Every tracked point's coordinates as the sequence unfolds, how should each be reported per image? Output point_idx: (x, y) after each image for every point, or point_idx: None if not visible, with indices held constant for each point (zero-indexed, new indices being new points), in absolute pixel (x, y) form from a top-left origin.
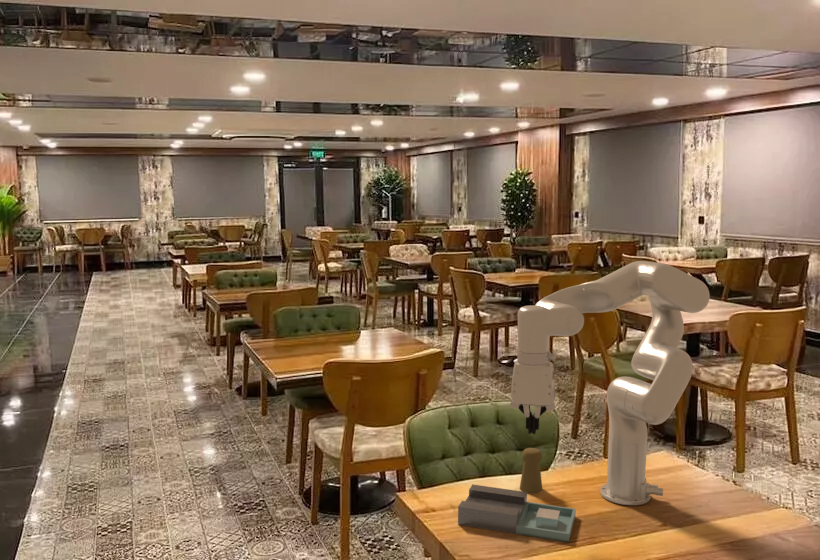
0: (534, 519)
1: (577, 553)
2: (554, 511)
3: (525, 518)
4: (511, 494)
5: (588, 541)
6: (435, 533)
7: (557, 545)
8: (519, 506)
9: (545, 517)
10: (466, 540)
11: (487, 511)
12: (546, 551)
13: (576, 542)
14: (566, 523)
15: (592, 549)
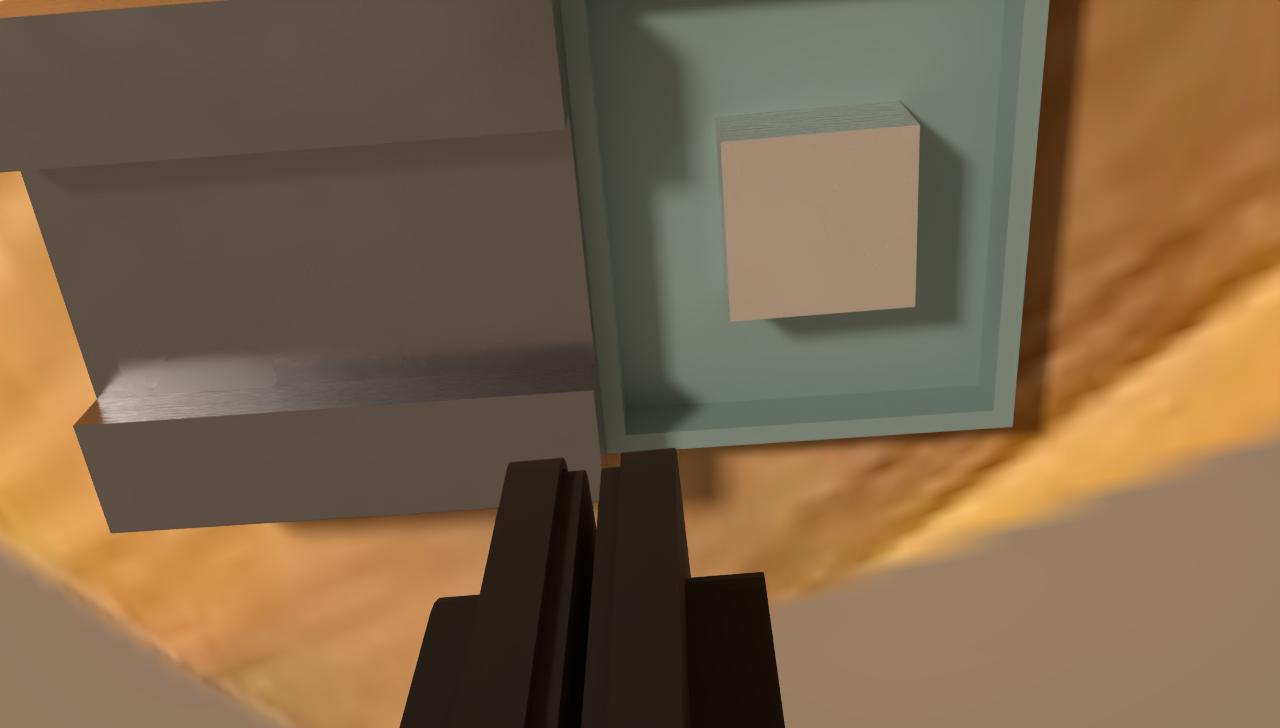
0: (687, 166)
1: (1056, 507)
2: (871, 158)
3: (610, 178)
4: (417, 110)
5: (1136, 323)
6: (110, 607)
7: (917, 459)
8: (544, 197)
9: (810, 308)
10: (334, 613)
11: (359, 513)
12: (855, 555)
13: (1047, 371)
14: (961, 127)
15: (1160, 422)
